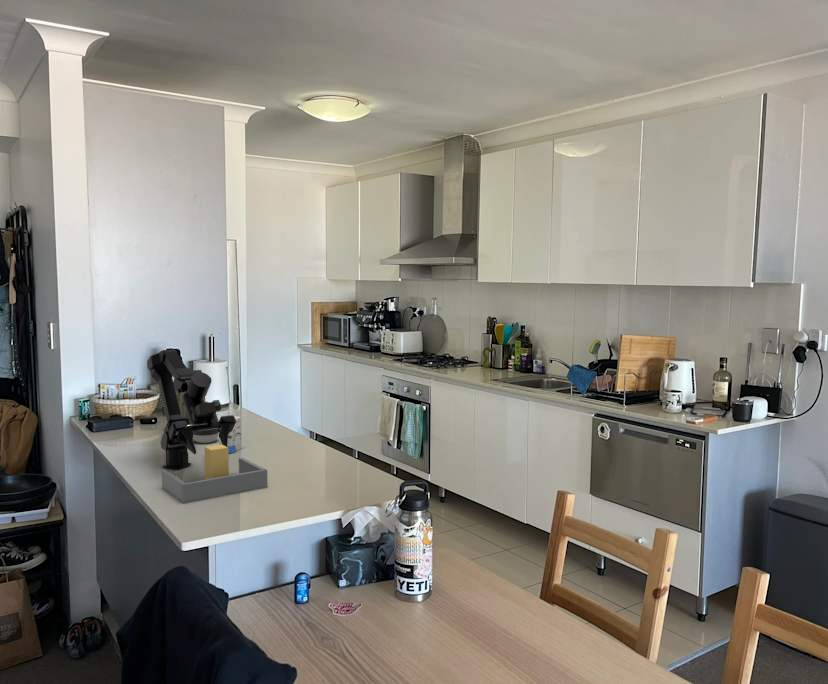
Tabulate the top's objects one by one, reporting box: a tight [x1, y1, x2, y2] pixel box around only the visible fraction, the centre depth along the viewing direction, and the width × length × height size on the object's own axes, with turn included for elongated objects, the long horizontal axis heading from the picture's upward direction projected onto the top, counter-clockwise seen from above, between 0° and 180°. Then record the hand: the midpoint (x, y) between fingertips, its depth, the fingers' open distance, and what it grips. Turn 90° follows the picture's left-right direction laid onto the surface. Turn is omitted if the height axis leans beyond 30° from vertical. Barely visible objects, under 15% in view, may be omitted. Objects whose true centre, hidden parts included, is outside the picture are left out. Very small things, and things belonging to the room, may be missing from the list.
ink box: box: [218, 415, 242, 455], centre depth 245 cm, size 9×5×12 cm, turn 168°
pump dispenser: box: [192, 401, 219, 444], centre depth 258 cm, size 10×10×15 cm
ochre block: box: [203, 444, 230, 480], centre depth 197 cm, size 5×5×12 cm
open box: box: [161, 457, 268, 504], centre depth 199 cm, size 17×24×6 cm
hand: (211, 451), depth 200 cm, fingers open, 9 cm apart
